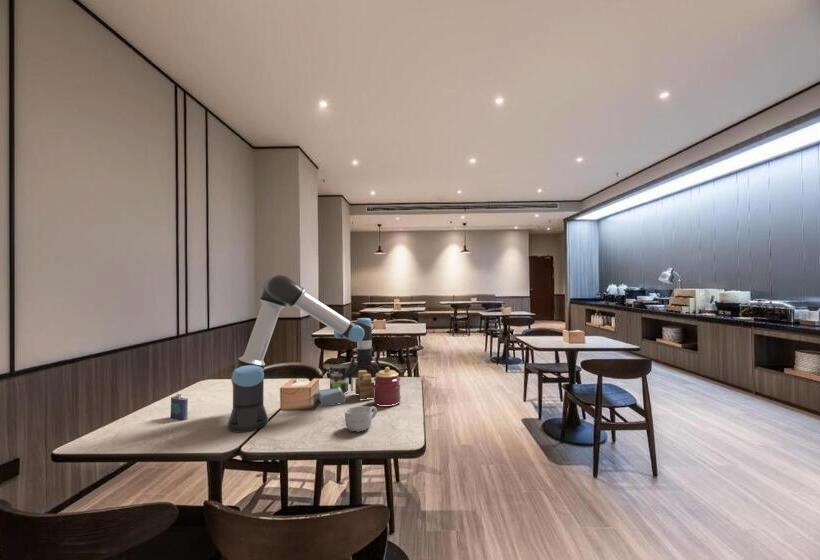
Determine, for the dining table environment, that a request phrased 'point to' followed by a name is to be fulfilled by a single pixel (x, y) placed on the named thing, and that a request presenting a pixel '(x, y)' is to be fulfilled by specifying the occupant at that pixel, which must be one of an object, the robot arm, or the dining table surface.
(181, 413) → the flask
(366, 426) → the teacup
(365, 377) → the crate
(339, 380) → the coffee can
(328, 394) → the dock
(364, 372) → the crate
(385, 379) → the canister
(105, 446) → the dining table surface
